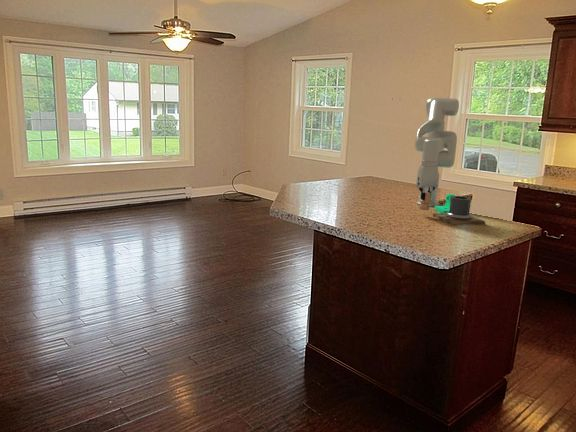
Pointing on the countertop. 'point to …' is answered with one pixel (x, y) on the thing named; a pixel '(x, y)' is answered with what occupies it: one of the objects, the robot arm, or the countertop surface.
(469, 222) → the mount board
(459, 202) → the black hollow cylinder
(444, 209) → the camera mount
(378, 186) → the countertop surface
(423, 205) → the tan knob
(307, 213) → the countertop surface
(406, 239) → the countertop surface
